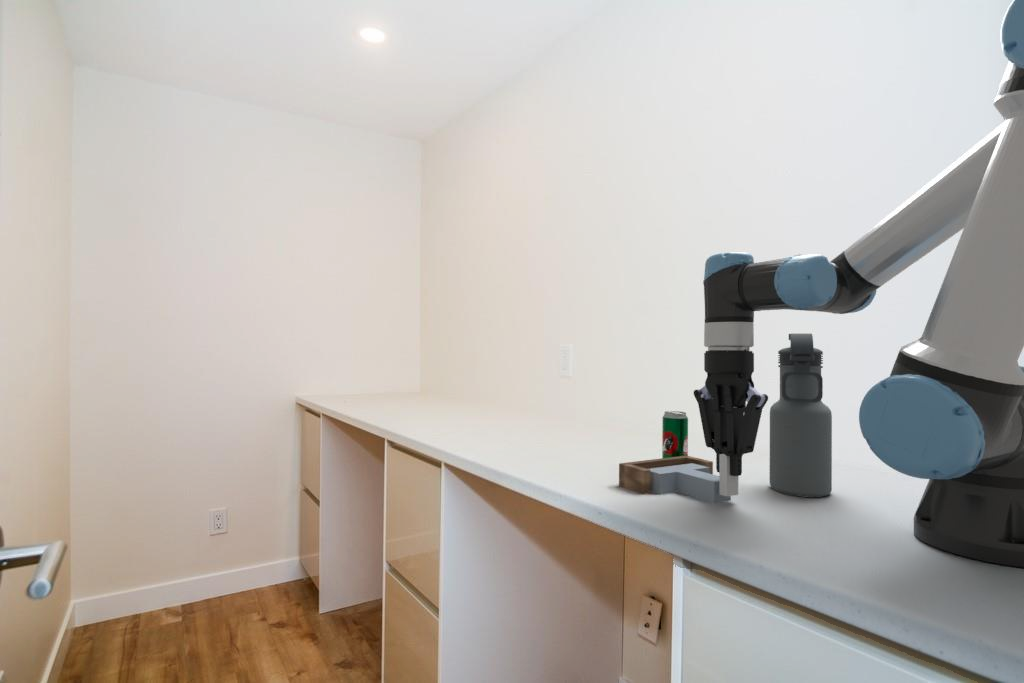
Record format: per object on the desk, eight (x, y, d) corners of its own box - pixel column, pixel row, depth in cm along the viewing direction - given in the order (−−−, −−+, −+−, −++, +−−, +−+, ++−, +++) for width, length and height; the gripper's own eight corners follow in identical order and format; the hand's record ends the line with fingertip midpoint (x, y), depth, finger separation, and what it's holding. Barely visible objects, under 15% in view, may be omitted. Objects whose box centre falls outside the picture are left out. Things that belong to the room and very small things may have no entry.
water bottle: (835, 501, 89) (835, 332, 89) (769, 494, 93) (770, 332, 94) (828, 487, 98) (828, 334, 99) (769, 481, 102) (769, 334, 103)
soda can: (689, 473, 108) (689, 414, 108) (663, 472, 109) (663, 413, 109) (686, 468, 113) (686, 411, 113) (661, 467, 114) (661, 410, 114)
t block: (696, 506, 86) (696, 484, 86) (644, 489, 96) (644, 469, 96) (746, 497, 91) (747, 476, 92) (692, 481, 102) (692, 463, 102)
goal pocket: (712, 483, 101) (712, 461, 101) (643, 493, 93) (643, 470, 93) (686, 475, 107) (686, 455, 107) (619, 485, 98) (619, 463, 99)
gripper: (779, 349, 84) (780, 501, 84) (712, 349, 95) (712, 483, 95) (747, 349, 80) (748, 507, 80) (681, 349, 92) (681, 488, 91)
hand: (728, 494), depth 87 cm, fingers closed
